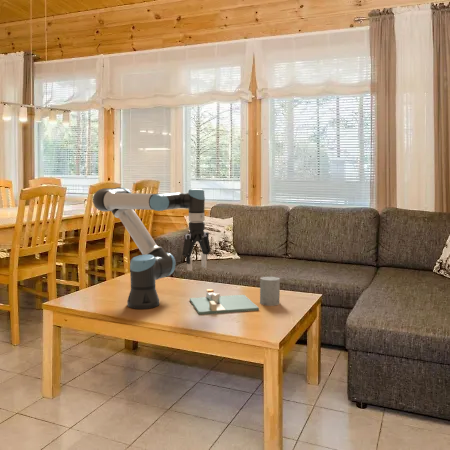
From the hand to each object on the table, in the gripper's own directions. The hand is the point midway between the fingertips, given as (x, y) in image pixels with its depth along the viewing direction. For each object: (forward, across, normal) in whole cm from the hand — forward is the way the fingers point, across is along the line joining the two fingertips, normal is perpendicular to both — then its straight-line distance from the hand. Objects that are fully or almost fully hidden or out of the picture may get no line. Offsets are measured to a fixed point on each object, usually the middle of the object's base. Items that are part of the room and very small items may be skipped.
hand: (196, 268), depth 233 cm
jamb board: (+17, +8, -10) cm, 21 cm away
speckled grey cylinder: (+18, +26, -23) cm, 39 cm away
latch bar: (+16, +7, -4) cm, 18 cm away
